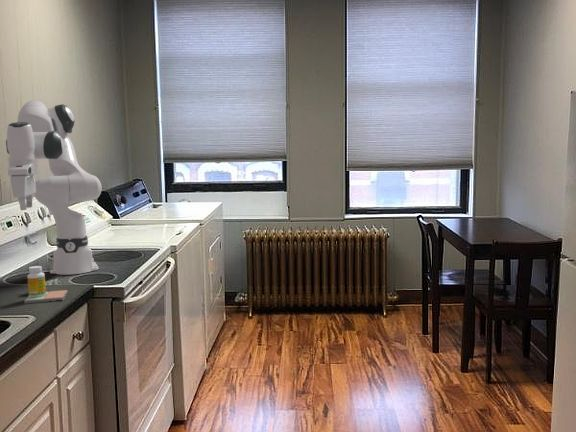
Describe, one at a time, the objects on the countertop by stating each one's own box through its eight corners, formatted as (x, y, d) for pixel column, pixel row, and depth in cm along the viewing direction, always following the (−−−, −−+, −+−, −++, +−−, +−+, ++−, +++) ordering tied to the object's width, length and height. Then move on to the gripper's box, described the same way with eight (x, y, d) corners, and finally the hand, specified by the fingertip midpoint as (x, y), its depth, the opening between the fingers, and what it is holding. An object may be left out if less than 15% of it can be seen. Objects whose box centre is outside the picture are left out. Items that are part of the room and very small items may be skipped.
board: (31, 295, 213) (30, 292, 213) (67, 293, 216) (67, 289, 216) (24, 303, 203) (23, 300, 203) (62, 300, 205) (62, 297, 205)
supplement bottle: (40, 297, 205) (37, 268, 204) (25, 297, 207) (23, 268, 205) (49, 293, 211) (47, 265, 210) (35, 293, 212) (32, 265, 211)
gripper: (20, 168, 227) (23, 206, 228) (6, 170, 207) (10, 212, 208) (38, 167, 228) (41, 205, 229) (26, 169, 208) (30, 211, 209)
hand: (26, 208), depth 219 cm, fingers open, 8 cm apart
